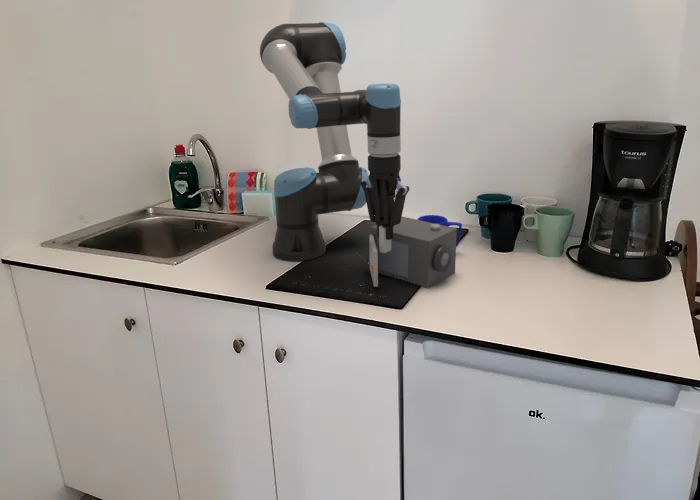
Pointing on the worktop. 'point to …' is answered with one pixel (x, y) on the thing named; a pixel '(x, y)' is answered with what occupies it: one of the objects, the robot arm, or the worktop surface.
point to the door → (373, 260)
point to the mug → (441, 222)
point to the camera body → (418, 252)
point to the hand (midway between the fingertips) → (385, 251)
